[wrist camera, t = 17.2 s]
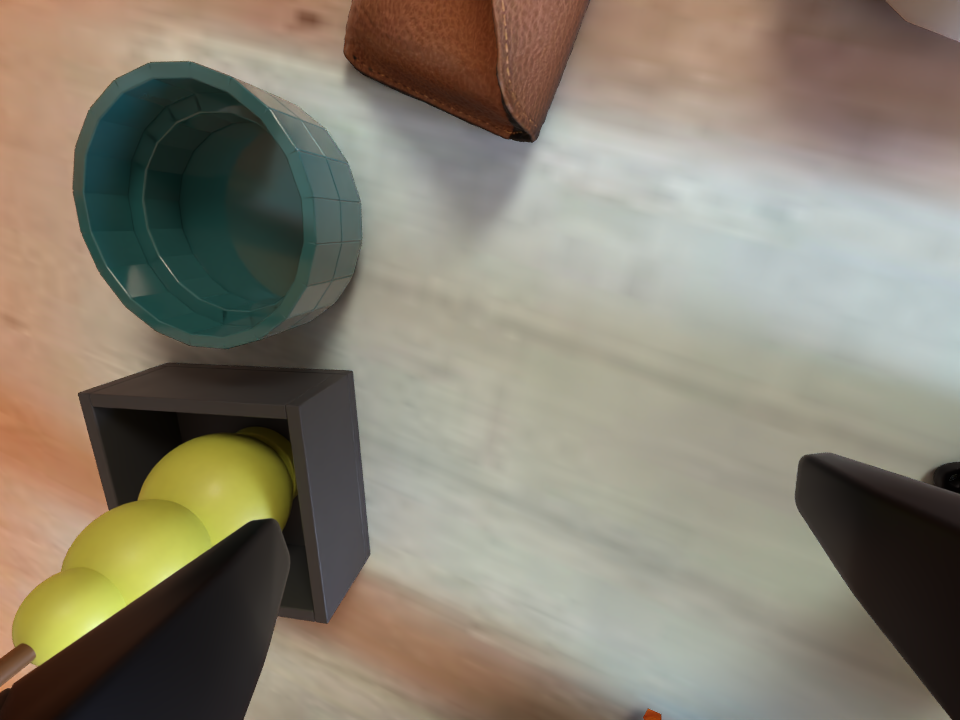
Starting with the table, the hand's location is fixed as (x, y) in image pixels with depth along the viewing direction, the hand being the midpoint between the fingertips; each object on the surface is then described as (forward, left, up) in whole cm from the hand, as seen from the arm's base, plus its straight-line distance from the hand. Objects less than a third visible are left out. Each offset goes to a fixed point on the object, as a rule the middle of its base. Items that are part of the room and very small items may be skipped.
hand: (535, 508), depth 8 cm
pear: (-3, +16, -12) cm, 20 cm away
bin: (-3, +16, -12) cm, 20 cm away
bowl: (+8, +11, -12) cm, 19 cm away
